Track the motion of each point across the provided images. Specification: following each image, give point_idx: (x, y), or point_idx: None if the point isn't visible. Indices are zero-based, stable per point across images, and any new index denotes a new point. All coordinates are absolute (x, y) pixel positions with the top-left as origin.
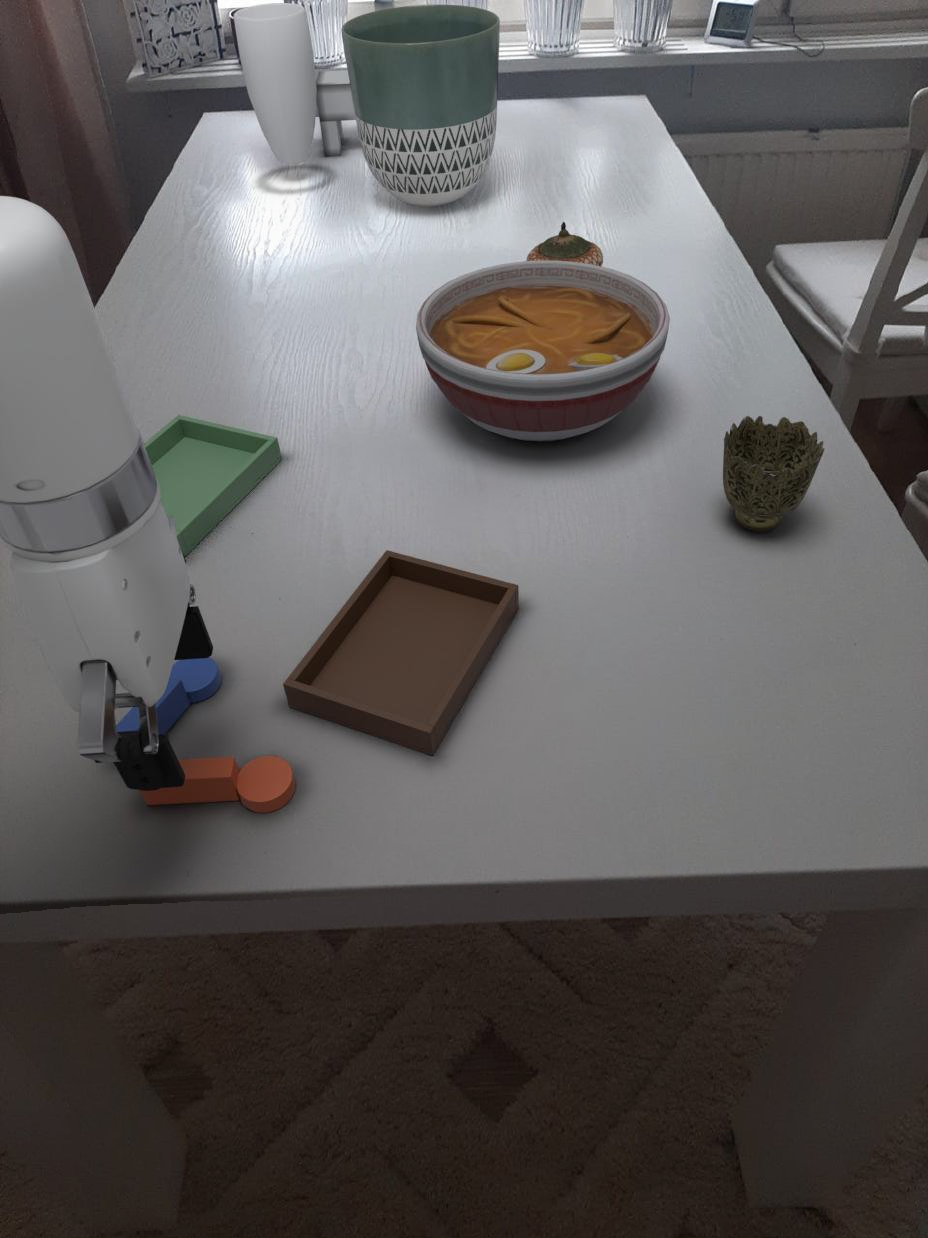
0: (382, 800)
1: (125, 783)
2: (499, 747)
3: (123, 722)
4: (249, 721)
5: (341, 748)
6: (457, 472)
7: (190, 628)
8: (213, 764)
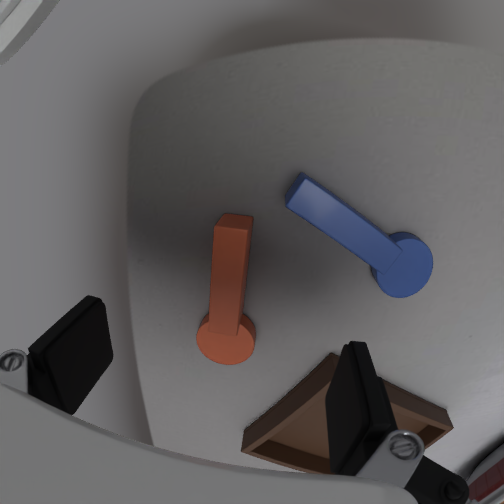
0: (206, 401)
1: (83, 299)
2: (244, 453)
3: (327, 200)
4: (324, 318)
5: (265, 386)
6: (498, 427)
7: (333, 443)
8: (227, 317)
